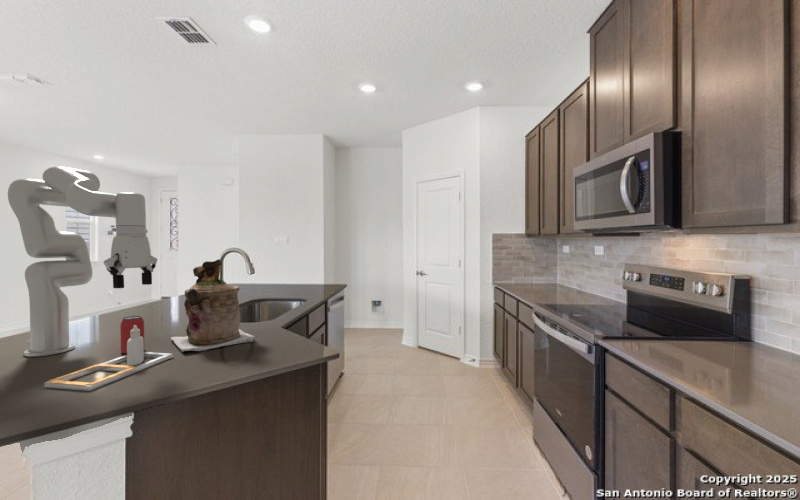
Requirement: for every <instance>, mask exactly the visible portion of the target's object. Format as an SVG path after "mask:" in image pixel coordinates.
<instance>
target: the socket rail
mask: <svg viewBox="0 0 800 500" xmlns="http://www.w3.org/2000/svg"><path fill="white" fill-rule="evenodd" d="M144 358H152V359H151V360H149V361H146V362H142V363H140V364H138V365H135V366H127V364H126V365H125V364H119V363H123V362H125V361H126V362H127V354H125V355H122V356H119V357H116V358H114V359H110V360H108V361H105V362H101V363H99V364H93V365H92V366H87V367H84V368H82V369H79V370H76V371H73V372H70V373H67V374H63V375H61V376H58V377H55V378H52V379H49V380H47V381H45V382H44V388H49V389H51V388H52V389H59V390H60V389H61V390H62V389H63V390H73V391H74V390H75V391H85V392H90V391H93V390H96V389H98V388H100V387H102V386H106V385H108V384H110V383H113V382H115V381H118V380H121V379H123V378H126V377H128V376H130V375H133V374H135V373H137V372H140V371H144V370H146V369H147V368H150V367H153V366H155V365H158V364H160V363H163V362H165V361H167V360H170V359H172V358H174V353H169V352H152V351H144ZM97 371H104V372H115V373H113V374H112V373H111V374H110V375H108V376H105V377H102V378H100V379H97V380H95V381H92V382H83V381H74V380H75V379H77V378H80V377H81V378H82V377H83V376H86V375H88V374H91V373H95V372H97ZM72 380H73V381H72Z"/></svg>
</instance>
